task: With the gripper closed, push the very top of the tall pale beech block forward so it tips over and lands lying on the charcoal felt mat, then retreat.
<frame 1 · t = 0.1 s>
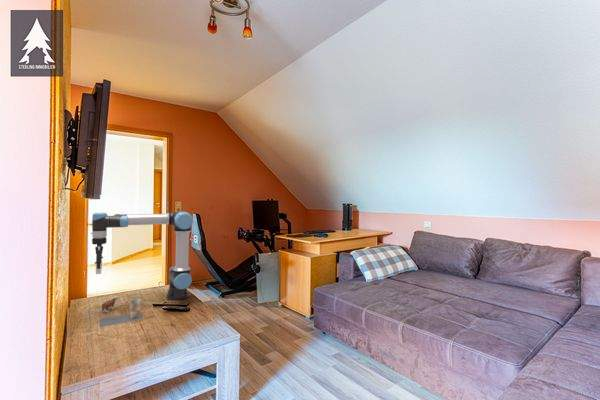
hand: (98, 271, 187), 28 cm above the table, fingers open, 13 cm apart
beech block: (134, 316, 186), resting on felt mat
bull figurine: (109, 311, 196), on the table
felt mat: (121, 319, 182), on the table
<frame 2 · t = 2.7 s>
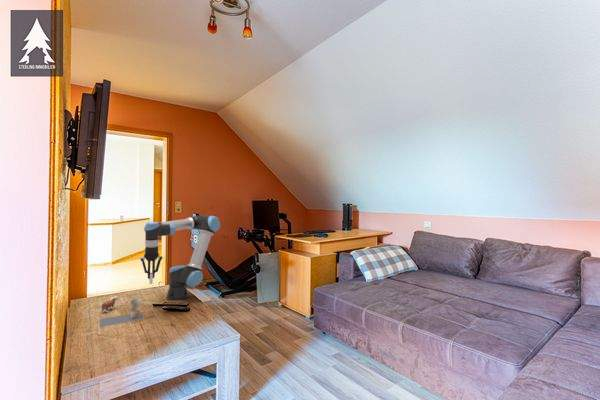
hand: (150, 283, 190), 20 cm above the table, fingers closed
nothing on the table moved.
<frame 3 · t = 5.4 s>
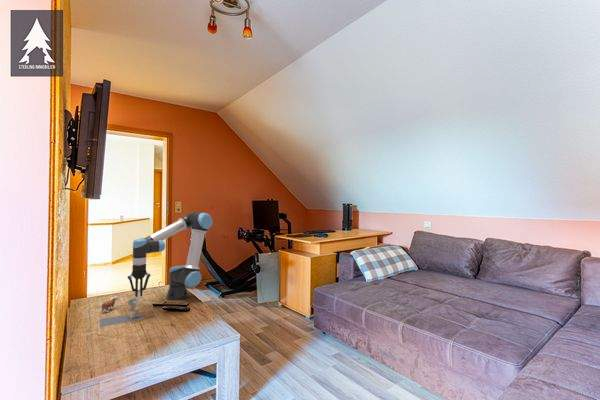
hand: (138, 301, 187), 10 cm above the table, fingers closed
beech block: (134, 316, 186), point 1 cm above the table, tilted 8°, touching felt mat
everything else where it was.
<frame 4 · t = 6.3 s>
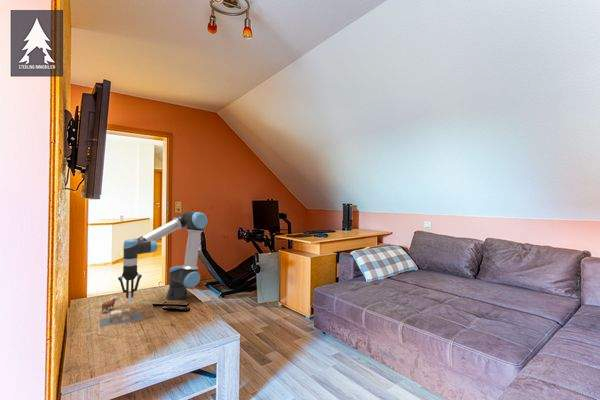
hand: (129, 303, 184), 10 cm above the table, fingers closed
beech block: (130, 313, 184), point 3 cm above the table, tilted 90°, touching felt mat
everything else where it was.
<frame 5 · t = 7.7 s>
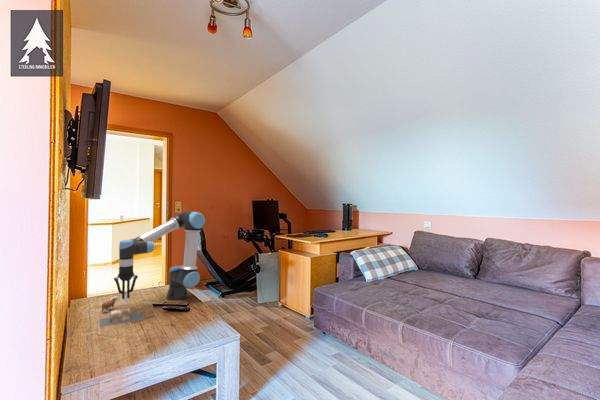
hand: (125, 303, 183), 9 cm above the table, fingers closed
nothing on the table moved.
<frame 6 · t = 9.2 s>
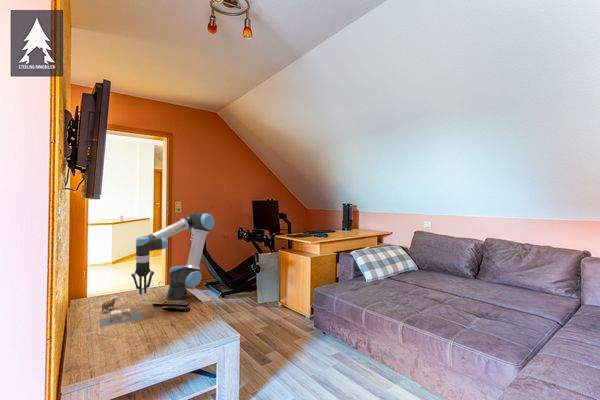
hand: (142, 298, 188), 11 cm above the table, fingers closed
nothing on the table moved.
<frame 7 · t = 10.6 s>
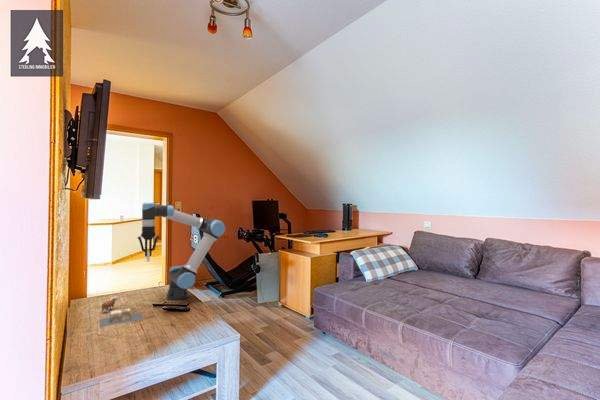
hand: (148, 261, 199), 32 cm above the table, fingers closed
nothing on the table moved.
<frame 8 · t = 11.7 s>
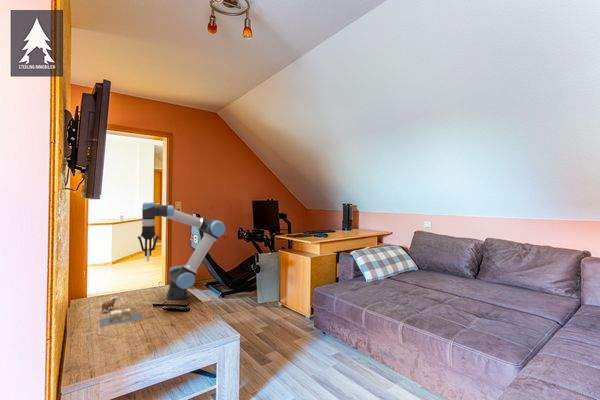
hand: (147, 260, 199), 32 cm above the table, fingers closed
nothing on the table moved.
at the end: beech block tilted 90°; beech block inside the target area on the felt mat (5.0 cm from its centre), point 2.9 cm above the felt mat's base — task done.
